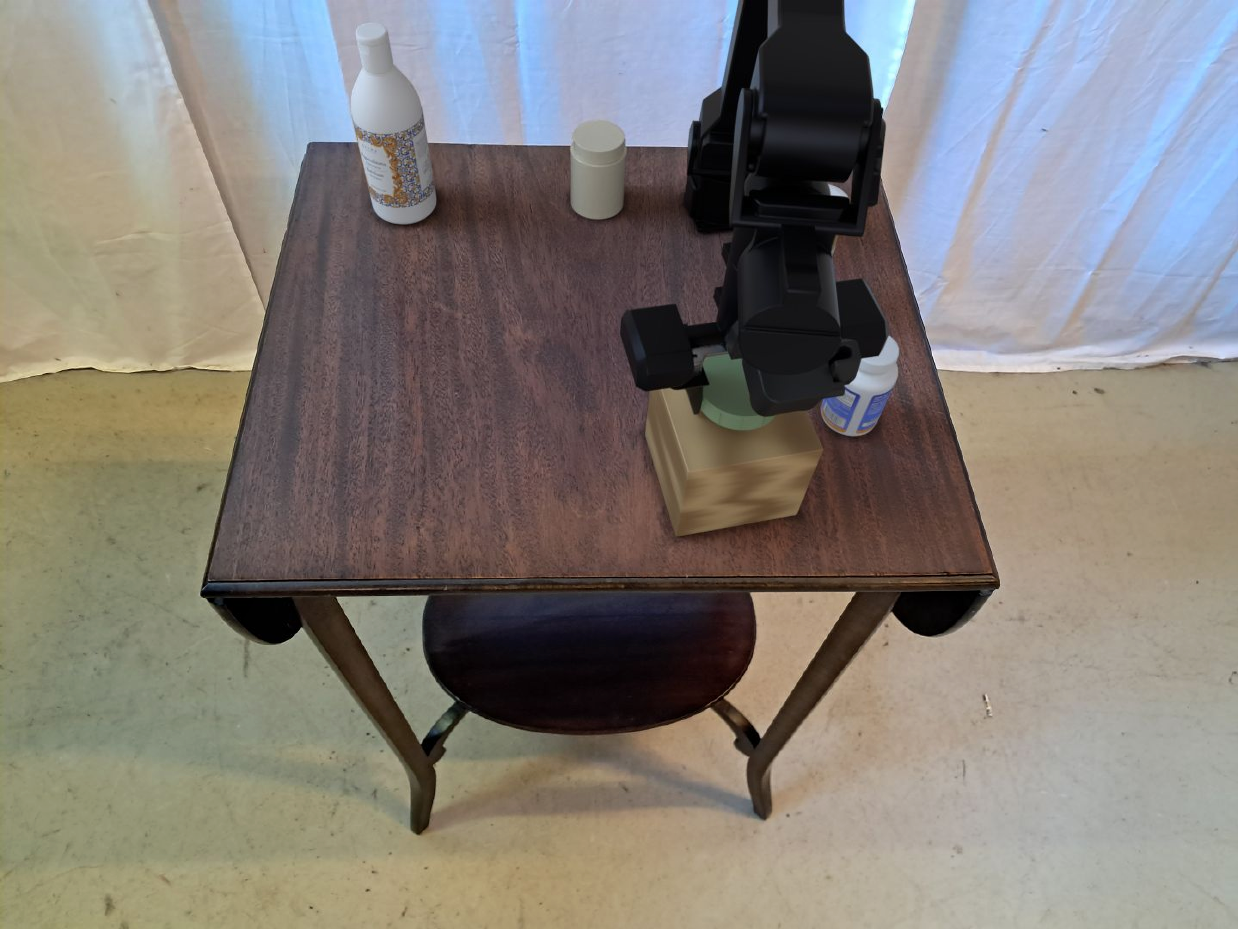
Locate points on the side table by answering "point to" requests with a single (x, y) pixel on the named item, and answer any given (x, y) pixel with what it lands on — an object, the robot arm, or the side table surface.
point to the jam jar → (597, 169)
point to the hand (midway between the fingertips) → (736, 403)
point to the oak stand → (727, 465)
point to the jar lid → (729, 395)
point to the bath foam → (391, 133)
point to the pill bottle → (864, 394)
